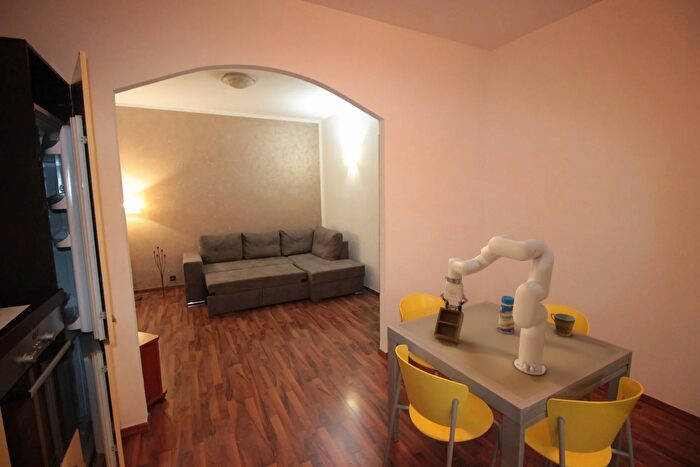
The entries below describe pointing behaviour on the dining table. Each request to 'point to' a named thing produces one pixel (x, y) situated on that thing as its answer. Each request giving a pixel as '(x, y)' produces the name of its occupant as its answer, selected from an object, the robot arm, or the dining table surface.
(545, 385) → the dining table surface
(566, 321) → the ceramic cup
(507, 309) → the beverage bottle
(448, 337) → the brown open box
